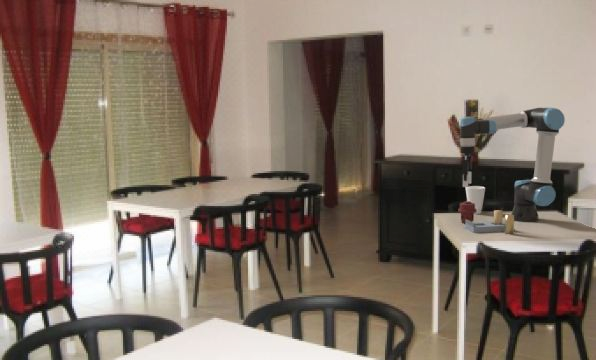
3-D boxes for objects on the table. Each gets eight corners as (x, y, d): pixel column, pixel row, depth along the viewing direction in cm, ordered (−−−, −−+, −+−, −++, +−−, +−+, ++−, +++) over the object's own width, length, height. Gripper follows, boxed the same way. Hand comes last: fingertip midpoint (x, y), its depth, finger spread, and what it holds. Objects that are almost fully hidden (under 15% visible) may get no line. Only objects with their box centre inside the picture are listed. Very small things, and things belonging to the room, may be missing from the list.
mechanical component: (475, 221, 361) (476, 225, 351) (457, 221, 363) (458, 224, 353) (475, 200, 359) (477, 203, 349) (457, 200, 361) (458, 203, 351)
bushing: (511, 232, 330) (511, 214, 328) (515, 234, 325) (515, 215, 324) (503, 233, 329) (503, 214, 328) (507, 234, 325) (507, 215, 324)
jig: (503, 226, 346) (504, 208, 344) (513, 230, 334) (513, 212, 332) (465, 228, 343) (465, 210, 342) (473, 232, 332) (473, 214, 330)
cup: (487, 214, 381) (487, 188, 379) (467, 214, 381) (468, 188, 379) (481, 211, 393) (482, 185, 391) (462, 211, 393) (463, 186, 391)
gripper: (463, 144, 348) (463, 181, 351) (456, 147, 325) (456, 188, 328) (477, 144, 345) (476, 182, 348) (471, 147, 322) (471, 188, 325)
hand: (467, 185), depth 338 cm, fingers open, 13 cm apart
